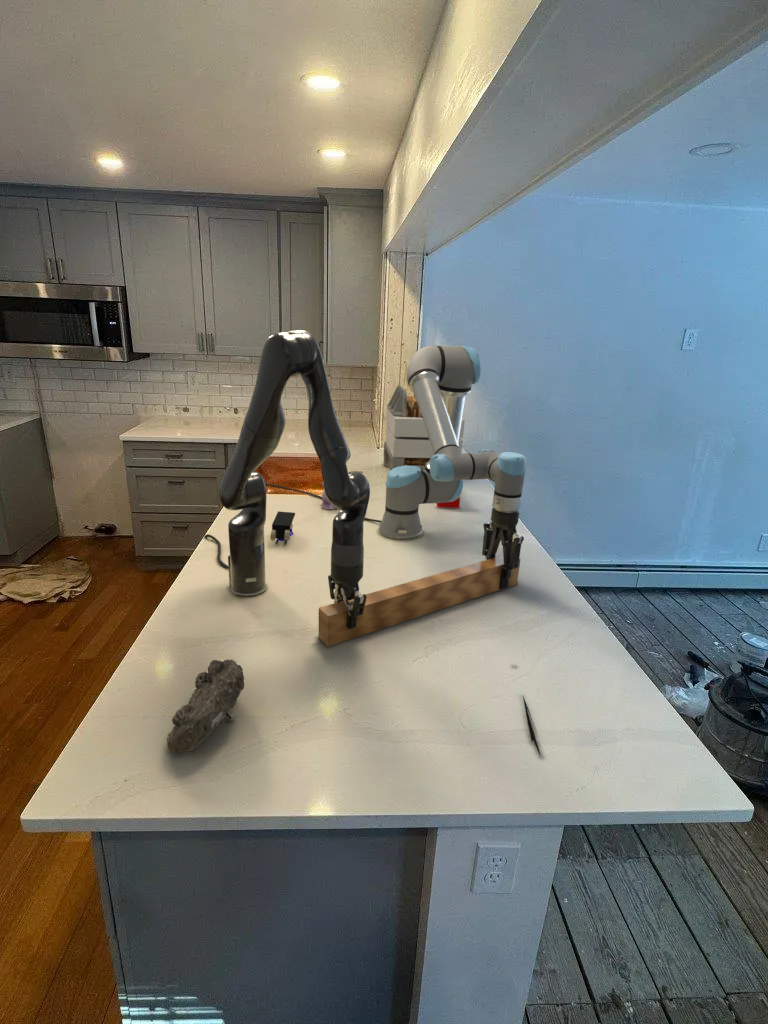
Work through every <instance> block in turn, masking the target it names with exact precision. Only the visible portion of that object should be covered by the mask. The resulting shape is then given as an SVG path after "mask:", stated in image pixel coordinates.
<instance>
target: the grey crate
mask: <svg viewBox="0 0 768 1024" xmlns="http://www.w3.org/2000/svg"><path fill="white" fill-rule="evenodd" d="M407 394H408V393H407V390H406V389H404V388H403V387H402V385H399V384H398V385H397V386H396V388H395V390H394V392H393V394H392V395H391V398H390V400H389V402H388V404H387V405H386V413H385V414H386V415H385V423H386V428H385V438H384V442H383V466H384V467H388V468H389V471H390V470H392V469H393V468H396V467H400V466H416V467H426V463H427V462H428V461H430V460H431V454H432V446H431V443H430V440H429V437H428V434H427V431H426V428H425V425H424V421H423V418H422V415H421V412H420V409H419V406H418V403H417V400H416V396H415V395H414V396H413V395H412V396H411V395H407ZM464 429H465V419H464V418H462V422H461V428H460V435H459V442H458V445H459V448H460V450H461V453H463V442H464V441H463V440H462V439H463V438H464V431H465V430H464Z"/></svg>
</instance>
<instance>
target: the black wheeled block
mask: <svg viewBox="0 0 768 1024" xmlns="http://www.w3.org/2000/svg"><path fill="white" fill-rule="evenodd" d="M295 516H296V512H291V511H279V510H278V511H277V513H276V514H275V517H274V519H273V521H272V524H271V530H270V541H275V545H278V544H279V541H280V542H283V545H284V546H286V545H287V542H288V541H290V540H291V537H292V536H293V535H294V532H293V528H294V525H293V522H294V520H295V519H294V518H295Z"/></svg>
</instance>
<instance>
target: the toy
mask: <svg viewBox="0 0 768 1024" xmlns="http://www.w3.org/2000/svg"><path fill="white" fill-rule="evenodd" d="M461 495H462V494H461ZM461 495H460V496H459V498H458V499H456V500H455V501H452V502H446V503H436V508H447V509H448V508H449V509H450V508H452V509H460V507H461V505H460V504H461Z"/></svg>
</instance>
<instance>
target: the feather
mask: <svg viewBox="0 0 768 1024" xmlns="http://www.w3.org/2000/svg"><path fill="white" fill-rule="evenodd" d="M513 666H514V667H515V666H516V665H515V664H514V665H513ZM522 699H523V706H524V711H525V717H526V722H527V726H528V732H529V737H530V739H531V741H530V742H531V743H533V742H534V746H535V747H536V750H537V752H538V754H539V755H541V752H540V749H539V745H538V742H537V741H538V740H537V739H536V738H537V737H536V736H538V731H537V728H536V725H535V722H534V720H533V717H532V716H531V713H530V709H529V707H528V704H527V702H526V698H525V697H524V696H522ZM534 731H535V732H534Z"/></svg>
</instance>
